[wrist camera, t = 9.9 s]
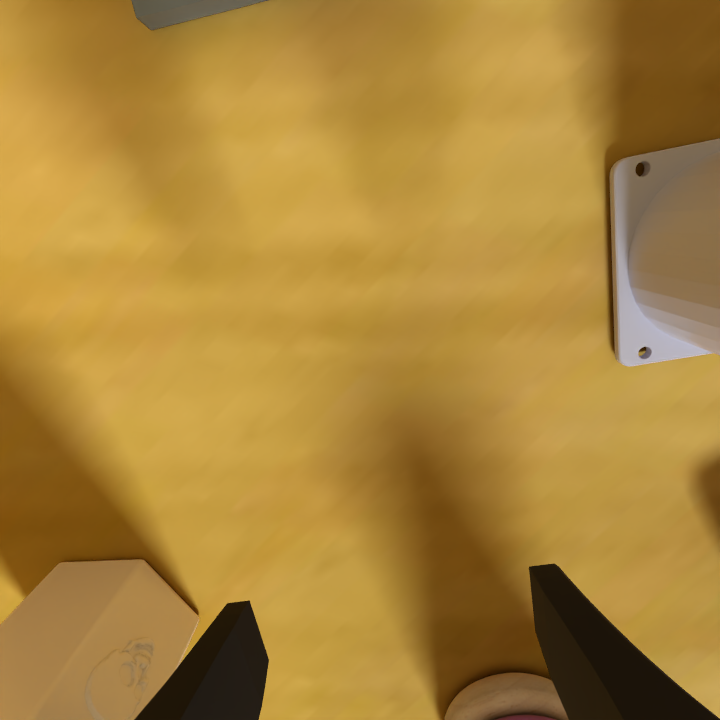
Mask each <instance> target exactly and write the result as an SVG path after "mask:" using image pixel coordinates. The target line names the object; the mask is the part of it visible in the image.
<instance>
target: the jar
mask: <svg viewBox="0 0 720 720" xmlns="http://www.w3.org/2000/svg"><path fill="white" fill-rule="evenodd" d="M198 623H199V616H198V615H197V614H196V613H195V612H194V611H193V610H192V609H191V608H190V607H189V606H188V605H187V604H186V603H185V602H184V601H183V599H182V598H181V597H180V596H179V595H178V594H177V593H176V592H175V591H174V590H173V589H172V588H171V587H170V586H169V585H168V584H167V583H166V582H165V581H164V580H163V579H162V578H161V577H160V576H159V575H158V574H157V573H156V572H155V571H154V569H153V568H152V567H151V566H150V565H149V564H148V563H147V562H146V561H145V560H143V559H131V560H104V561H77V562H61V563H59V564H57V565H56V566H55V567H54V568H53V569H52V570H51V572H50V573H49V574H48V575H47V576H46V577H45V578H44V579H43V580H42V581H41V582H40V583H39V584H38V585H37V586H36V587H35V588H34V589H33V590H32V592H31V593H30V594H29V595H28V596H27V597H26V598H25V599H24V600H23V601H22V602H21V603H20V604H19V605H18V606H17V607H16V608H15V609H14V610H13V612H12V613H11V614H10V615H9V616H8V617H7V618H6V619H5V620H4V621H3V622H2V623H1V624H0V720H134V719H135V718H136V717H137V716H138V714H139V713H140V712H141V711H142V710H143V709H144V707H145V706H146V705H147V704H148V703H149V701H150V700H151V699H152V698H153V697H154V696H155V694H156V693H157V692H158V691H159V690H160V689H161V687H162V686H163V685H164V684H165V683H166V681H167V680H168V679H169V678H170V676H171V675H172V674H173V672H174V671H175V670H176V669H177V667H178V666H179V664H180V662H181V660H182V658H183V655H184V653H185V651H186V649H187V647H188V644H189V642H190V640H191V638H192V636H193V634H194V631H195V629H196V627H197V625H198Z"/></svg>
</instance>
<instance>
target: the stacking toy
mask: <svg viewBox="0 0 720 720" xmlns="http://www.w3.org/2000/svg"><path fill="white" fill-rule="evenodd" d="M444 720H569V719H568V717H567V714H566V712H565V710H564V707H563V705H562V703H561V700H560V698H559V696H558V693H557V691H556V689H555V686H554V684H553V682H552V680H550V679H548V678H544V677H541V676H538V675H533V674H527V673H502V674H497V675H492V676H489V677H486V678H483V679H480V680H478V681H476V682H474V683H472V684H470V685H469V686H467V687H466V688H464V689H463V690H462V691H461V692H460V693H459V694H458V695H457V696H456V697H455V698H454V699H453V701H452V702H451V704H450V706H449V707H448V710H447V712H446V715H445V718H444Z"/></svg>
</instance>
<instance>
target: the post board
mask: <svg viewBox="0 0 720 720" xmlns="http://www.w3.org/2000/svg"><path fill="white" fill-rule="evenodd" d="M264 1H267V0H132V4H133V7H134V11H135V14H136V18H137V19H138V20H140V21H141V22H142V23H143V24H144V25H146V26H147V27H148V28H149V29H150V30H154V29H158V28H162V27H166V26H170V25H174V24H178V23H181V22H185V21H189V20H193V19H197V18H201V17H205V16H209V15H213V14H217V13H221V12H224V11H228V10H232V9H236V8H240V7H244V6H248V5H252V4H256V3H260V2H264Z"/></svg>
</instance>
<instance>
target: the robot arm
mask: <svg viewBox="0 0 720 720" xmlns="http://www.w3.org/2000/svg"><path fill="white" fill-rule="evenodd" d="M638 163H642V164H643V165H644V168H645V169H644V173H643V174H642V175H641V176H640V177H639V176H638V175H637V174H636V171H635V170H636V166H637V165H638ZM610 208H611V241H612V274H613V308H614V341H615V357H616V359H617V361H618V362H620V363H621V364H623V365H625V366H636V365H642V364H648V363H654V362H661V361H667V360H673V359H679V358H686V357H692V356H698V355H704V354H711V353H715V354H718V355H720V138H719V139H714V140H709V141H705V142H700V143H695V144H690V145H685V146H680V147H675V148H670V149H665V150H660V151H656V152H651V153H646V154H641V155H636V156H631V157H626V158H623V159H621V160H618V161H617V162H616V163H615V164H614V165H613V166H612V168H611V170H610ZM642 347H646V352H645V353H644V354H643V355H642V356H638V352H639V350H640V349H641V348H642ZM529 572H530V582H531V592H532V602H533V611H534V621H535V631H536V634H537V637H538V640H539V643H540V647H541V650H542V653H543V656H544V659H545V662H546V665H547V668H548V671H549V674H550V677H551V679H552V682H553V684H554V686H555V689H556V691H557V693H558V696H559V698H560V700H561V703H562V705H563V707H564V710H565V712H566V714H567V717H568V719H569V720H720V719H719V718H718V717H717V716H716V715H714V714H713V713H712V712H711V711H709V710H708V709H707V708H706V707H704V706H703V705H702V704H701V703H699V702H698V701H697V700H696V699H694V698H693V697H692V696H691V695H690V694H688V693H687V692H686V691H685V690H684V689H682V688H681V687H680V686H679V685H678V684H677V683H675V682H674V681H673V680H672V679H671V678H670V677H668V676H667V675H666V674H665V673H664V672H663V671H662V670H661V669H660V668H658V667H657V666H656V665H655V664H654V663H653V662H652V661H651V660H649V659H648V658H647V657H646V656H645V655H644V654H643V653H642V652H641V651H640V650H639V649H638V648H636V647H635V646H634V645H633V644H632V643H631V642H630V641H629V640H628V639H627V638H626V637H625V636H624V635H623V634H622V633H621V632H620V631H619V630H618V629H617V628H616V627H615V626H614V625H613V624H612V623H611V622H610V621H609V620H608V619H607V618H606V617H605V616H604V615H603V614H602V613H601V612H600V611H599V610H598V609H597V608H596V607H595V606H594V605H593V604H592V603H591V602H590V601H589V600H588V599H587V598H586V597H585V596H584V595H583V593H582V592H581V591H580V590H579V589H578V588H577V587H576V586H575V585H574V584H573V582H572V581H571V580H570V579H569V578H568V577H567V576H566V575H565V573H564V572H563V571H562V570H561V569H560V568H559V567H558V566H557V565H556V564H547V565H539V566H531V567H529ZM268 662H269V659H268V656H267V653H266V650H265V647H264V644H263V641H262V638H261V634H260V631H259V628H258V625H257V622H256V619H255V616H254V613H253V610H252V607H251V604H250V601H242V602H234V603H227V605H226V606H225V607H224V608H223V610H222V611H221V612H220V613H219V615H218V616H217V617H216V619H215V620H214V621H213V622H212V624H211V625H210V626H209V628H208V629H207V630H206V631H205V633H204V634H203V635H202V637H201V638H200V639H199V641H198V642H197V643H196V644H195V646H194V647H193V648H192V650H191V651H190V652H189V654H188V655H187V656H186V657H185V659H184V660H183V661H182V662H181V664H180V665H179V666H178V667H177V669H176V670H175V671H174V672H173V674H172V675H171V676H170V678H169V679H168V680H167V681H166V683H165V684H164V685H163V686H162V687H161V689H160V690H159V691H158V692H157V693H156V694H155V696H154V697H153V698H152V699H151V700H150V701H149V703H148V704H147V705H146V706H145V707H144V709H143V710H142V711H141V712H140V713H139V714H138V716H137V717H136V718H135V719H134V720H258V719H259V715H260V711H261V707H262V701H263V695H264V689H265V683H266V676H267V669H268Z"/></svg>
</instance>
